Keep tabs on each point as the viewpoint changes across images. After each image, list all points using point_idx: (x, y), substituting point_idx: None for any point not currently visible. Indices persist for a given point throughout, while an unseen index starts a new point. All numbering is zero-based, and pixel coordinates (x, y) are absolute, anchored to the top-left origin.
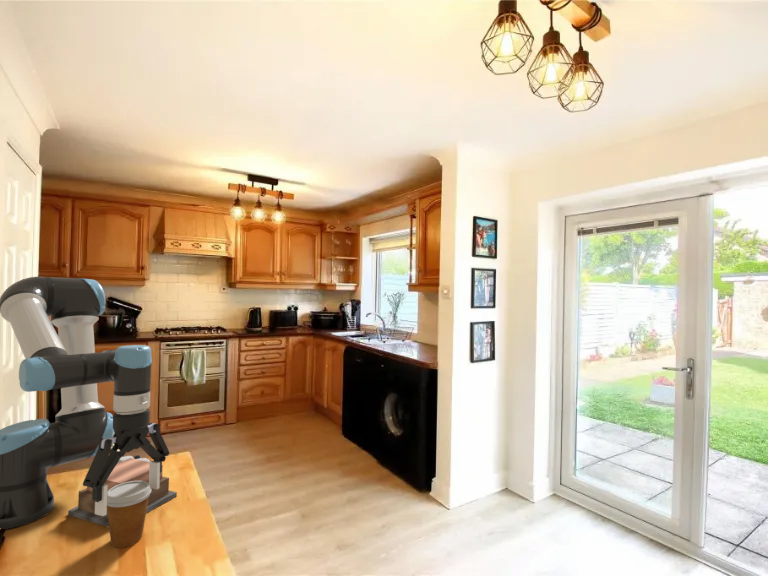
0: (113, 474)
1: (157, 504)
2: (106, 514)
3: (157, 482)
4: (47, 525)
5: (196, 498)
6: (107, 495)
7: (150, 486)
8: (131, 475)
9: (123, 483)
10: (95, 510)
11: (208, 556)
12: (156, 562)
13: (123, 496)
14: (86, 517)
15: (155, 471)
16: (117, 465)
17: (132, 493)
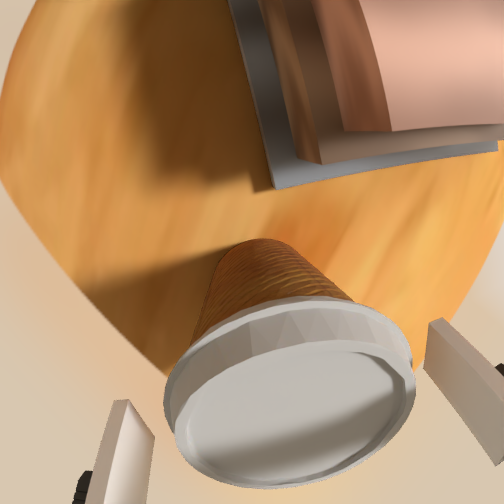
0: None
1: (438, 157)
2: (154, 437)
3: (442, 388)
4: None
5: (498, 217)
6: (174, 426)
7: (431, 338)
8: (474, 77)
9: (338, 349)
10: (112, 416)
11: None
12: None
13: (239, 465)
14: (231, 10)
15: (475, 421)
16: None
17: (287, 462)
